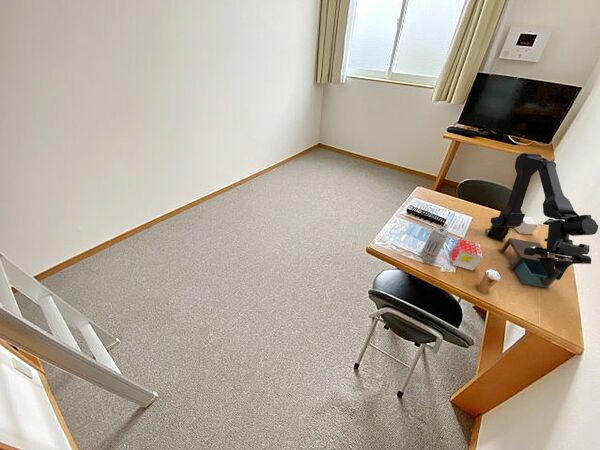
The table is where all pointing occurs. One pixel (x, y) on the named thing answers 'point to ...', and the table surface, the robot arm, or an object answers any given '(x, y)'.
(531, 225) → the white cube
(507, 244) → the brown drawer cabinet
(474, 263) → the red patterned cube box
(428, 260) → the energy drink can
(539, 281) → the drawer
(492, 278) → the milkshake
